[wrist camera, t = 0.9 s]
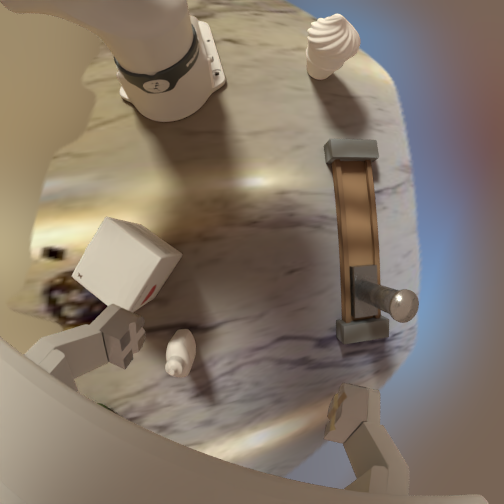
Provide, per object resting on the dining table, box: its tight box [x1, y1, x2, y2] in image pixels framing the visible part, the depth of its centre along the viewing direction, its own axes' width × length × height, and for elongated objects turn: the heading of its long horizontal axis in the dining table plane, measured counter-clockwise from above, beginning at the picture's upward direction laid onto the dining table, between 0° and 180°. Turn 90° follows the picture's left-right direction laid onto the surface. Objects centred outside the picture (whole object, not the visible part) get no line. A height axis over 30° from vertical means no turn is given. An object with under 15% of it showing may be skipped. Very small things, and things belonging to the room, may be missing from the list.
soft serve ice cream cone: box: [306, 14, 360, 80], centre depth 42 cm, size 8×8×16 cm
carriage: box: [349, 264, 419, 323], centre depth 42 cm, size 8×4×15 cm, turn 4°
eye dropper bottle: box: [165, 329, 196, 377], centre depth 44 cm, size 4×6×12 cm
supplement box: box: [72, 216, 182, 312], centre depth 42 cm, size 9×9×15 cm
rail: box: [324, 139, 389, 344], centre depth 49 cm, size 32×8×4 cm, turn 4°
